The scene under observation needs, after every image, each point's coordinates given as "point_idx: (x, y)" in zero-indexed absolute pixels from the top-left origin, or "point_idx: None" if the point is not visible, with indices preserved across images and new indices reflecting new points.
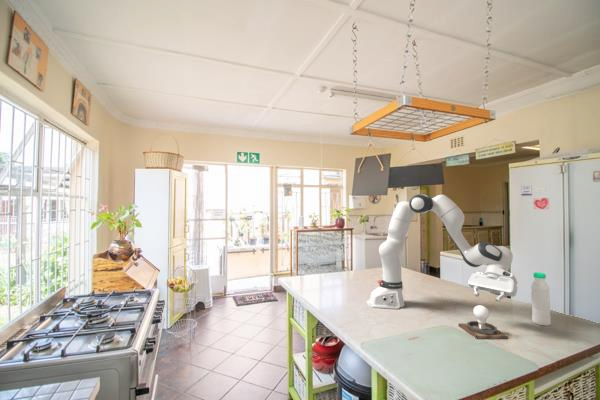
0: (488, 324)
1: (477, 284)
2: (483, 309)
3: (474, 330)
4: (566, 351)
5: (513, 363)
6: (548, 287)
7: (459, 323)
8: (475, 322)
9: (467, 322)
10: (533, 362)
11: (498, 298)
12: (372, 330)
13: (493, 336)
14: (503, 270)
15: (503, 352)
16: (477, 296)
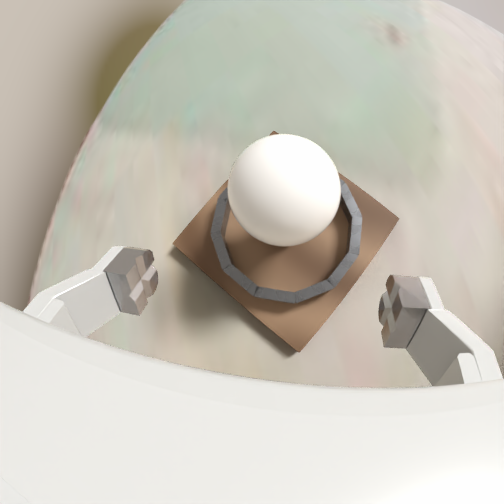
0: (271, 289)
1: (489, 398)
2: (252, 145)
3: None
4: (42, 289)
5: (146, 82)
6: None
7: (396, 222)
8: (337, 267)
9: (361, 216)
10: (105, 127)
11: (112, 253)
12: (460, 31)
13: (219, 189)
14: None
15: (172, 113)
16: (385, 298)
